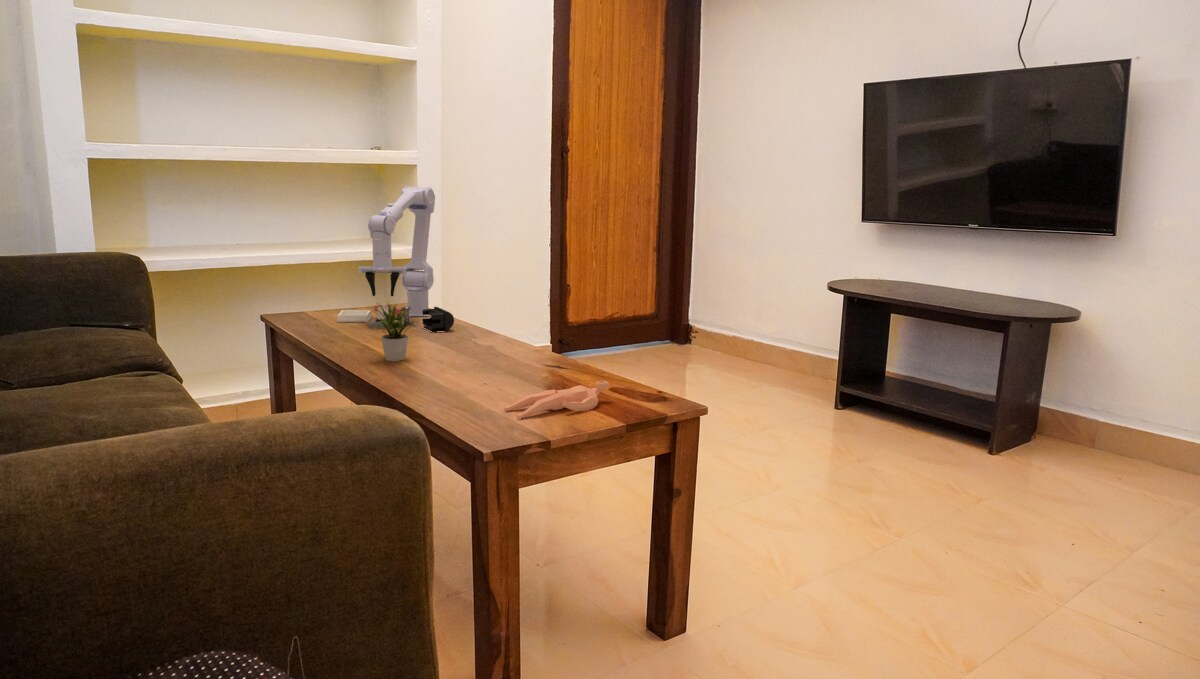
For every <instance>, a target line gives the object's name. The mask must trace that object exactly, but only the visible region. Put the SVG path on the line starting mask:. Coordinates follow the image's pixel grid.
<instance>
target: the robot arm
mask: <svg viewBox="0 0 1200 679" xmlns="http://www.w3.org/2000/svg"><path fill="white" fill-rule="evenodd" d="M400 191H401V193H400V196H399V197H398V199H396V201H395V202H391V203H390V202H389V203H387V206H385V208H383V210H381V211H380V212H379V213H378V214H374V215H372V216H371V217H370V218H369V220H368V224H367V227H368V230H369V233H370V239H372V266H371V265H370V266H369V265H368V266H366V265H365V266H358V274H365V275H364V276H365V278H366V280H367V282H368V285H369V287H370V290H371V295H372V297H376V284H375V283H376V282H375V281H376V274H390V276H389V277H390V297H394V295H395V293H394V292H395V288H396V285H397V282H398V279H399V277H400V274H401V277H400V278H401V281H400V282H401V284H402V286H403V287H404V289H405V290H406V296H407V298H406V300H407V305H406V306H409V307H411V309H410V310H409V313H410V312H411V311H412V310H413V311H412V312H411V313H410V314H409V316H411V317H430V315H423V310H424V309H430V308H429V291H430V290H431V288H432V287H433V285H434V281H435V279H434V268H433V267H432V266H431V265H430V264H429V263H428V262H427V258H428V257H427V256H428V247H429V237H430V225H431V215H432V214H433V213H434V210H435V202H436V194H435V192H434V190H433V188H432V187H431V186H430V187H429V186H426V187H424V186H421V187H420V186H408V185H406V186H404V187H403V188H402V189H401V190H400ZM407 209H408V210H409V211H410V212H412V213H413V214H414V216H415V217H414V227H413V236H412V237H413V238H412V248H411V257H410V258H411V259H410V261H408V263H406V264H404V266H393V265H392V264H393V263H392V234H393V233H394V231H395V227H396V225H397V223H398V222H399V221H400V220H401V219H402V218H403V216H404V211H405V210H407ZM417 307H419V308H417ZM415 308H416V309H415ZM414 309H415V310H414Z"/></svg>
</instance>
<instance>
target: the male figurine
mask: <svg viewBox="0 0 1200 679" xmlns="http://www.w3.org/2000/svg"><path fill="white" fill-rule="evenodd" d="M594 386H595V387H592V388H590V387H587V386H584V385H582V384H581V385H576V386H572V387H570V388H566V389H565V388H564V389H558V390H556V389H549V390H542V391H541V392H537V393H531V394H528V395H526V396H524V397H522V398H520V399H519V400H517V401H516V402H513V403H512V404H509V405H507V406H506V405H505V406H503V411H504V412H505V411H508V412H510V411H513V410H518V409H523V408H527V409H525V410H524V411H522V412H520V413H518V414H517V415H516V417H515V418H516V419H517V418H519V419H520V418H523V419H524V418H527V417H530V416H532V415H533V416H534V415H536V414H538V413H541V412H542V411H547V410H551V411H559V410H562V409H565V408H566V409H569V410H571V411H575V412H587V411H591V410H594V409H595V407H597V406H598V404H599V398H598V396H599V395H600V392H601V390H606V389H607V388H609V387H610V384H609V381H607V380H602V379H599V381H596V382H595V383H594ZM590 409H591V410H590ZM586 410H587V411H586ZM519 419H518V420H519ZM520 420H521V419H520Z"/></svg>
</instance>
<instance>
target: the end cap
mask: <svg viewBox="0 0 1200 679" xmlns="http://www.w3.org/2000/svg"><path fill="white" fill-rule="evenodd" d="M423 315H429V316H430V318H427V317H426V318H422V325H423V327H424V328H426V329H428V330H430V331H432V332H437V331H447V330H448V331H449V330H450V329H451V328H452V327H453V326H454V323H455V318H454V315H453V314H452V313H451V312H449V311H447V310H445V309H443V308H440V307H439V306H433V308H429V309H424V310H423ZM423 327H422V328H423ZM424 328H423V329H424ZM426 329H425V330H426ZM428 330H427V331H428ZM430 331H429V332H430ZM448 331H447V332H448ZM432 332H431V333H432Z"/></svg>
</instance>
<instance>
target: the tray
mask: <svg viewBox="0 0 1200 679" xmlns="http://www.w3.org/2000/svg"><path fill="white" fill-rule="evenodd" d="M336 316H337V323H338V322H339V324H342V322H356V323H355V324H357V323H358V324H359V322H360V324H364V323H365V324H366V323H367V322H368V323H369V321H371V320H370V319H372V310H370V309H366V310H365V309H364V310H363V309H342V310H340V312H339V313H338V314H337V315H336ZM362 322H364V323H362ZM368 323H367V324H368Z"/></svg>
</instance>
